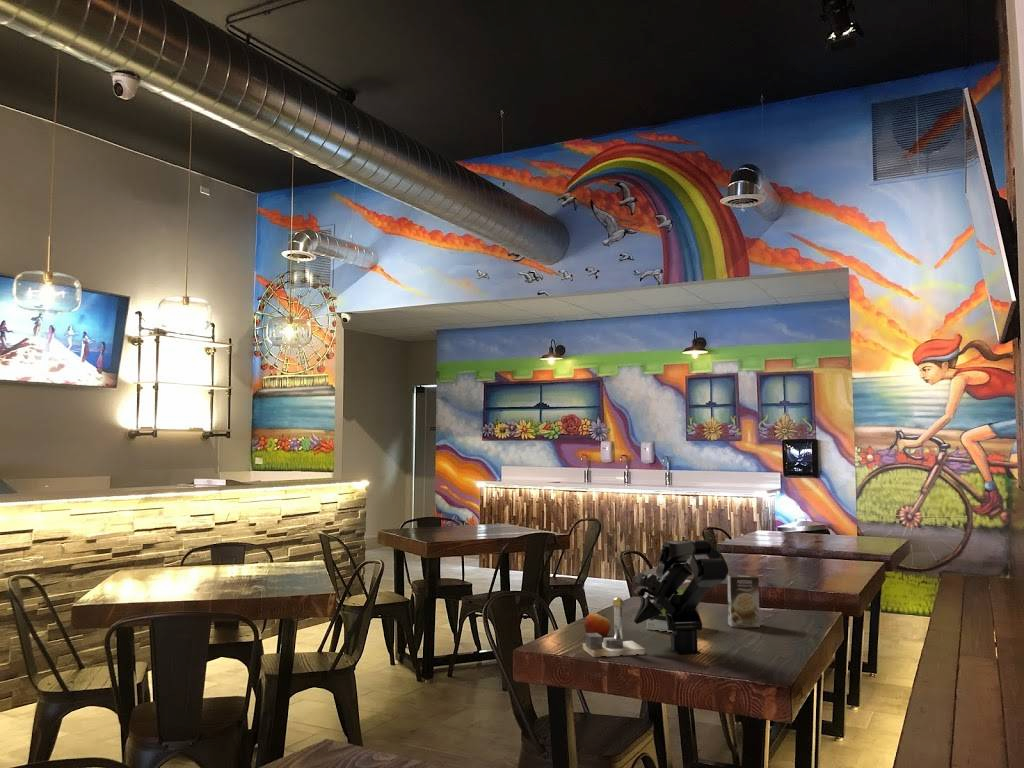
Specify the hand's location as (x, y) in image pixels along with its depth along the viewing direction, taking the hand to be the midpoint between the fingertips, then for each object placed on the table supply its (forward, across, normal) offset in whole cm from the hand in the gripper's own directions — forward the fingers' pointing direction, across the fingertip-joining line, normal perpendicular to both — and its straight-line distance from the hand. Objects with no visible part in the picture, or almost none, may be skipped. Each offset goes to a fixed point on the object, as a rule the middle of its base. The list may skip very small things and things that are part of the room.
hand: (635, 622), depth 234 cm
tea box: (-10, -26, +21) cm, 35 cm away
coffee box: (-27, -23, +38) cm, 52 cm away
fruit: (+9, -19, +2) cm, 21 cm away
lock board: (+10, 0, +1) cm, 10 cm away
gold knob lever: (+9, 0, 0) cm, 9 cm away
